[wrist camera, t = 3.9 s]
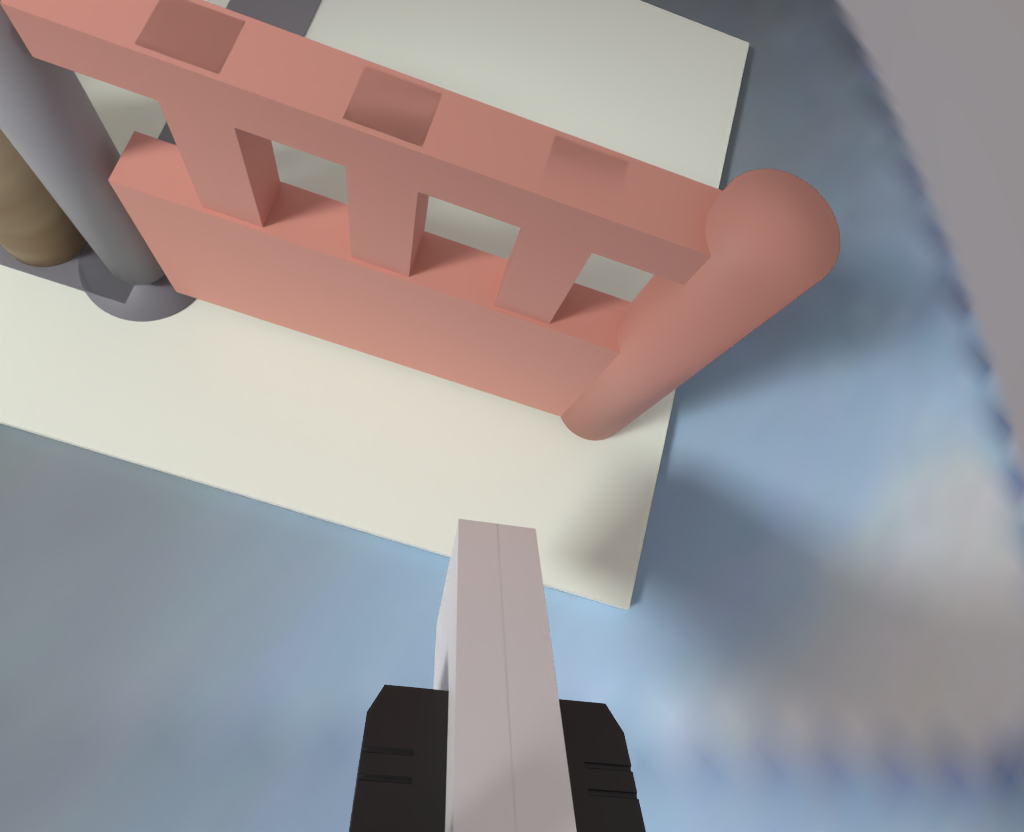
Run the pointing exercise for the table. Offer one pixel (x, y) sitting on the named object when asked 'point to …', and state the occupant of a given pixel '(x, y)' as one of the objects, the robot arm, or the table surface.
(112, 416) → the card
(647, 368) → the hinged fence half
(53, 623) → the table surface
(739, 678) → the table surface
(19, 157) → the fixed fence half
